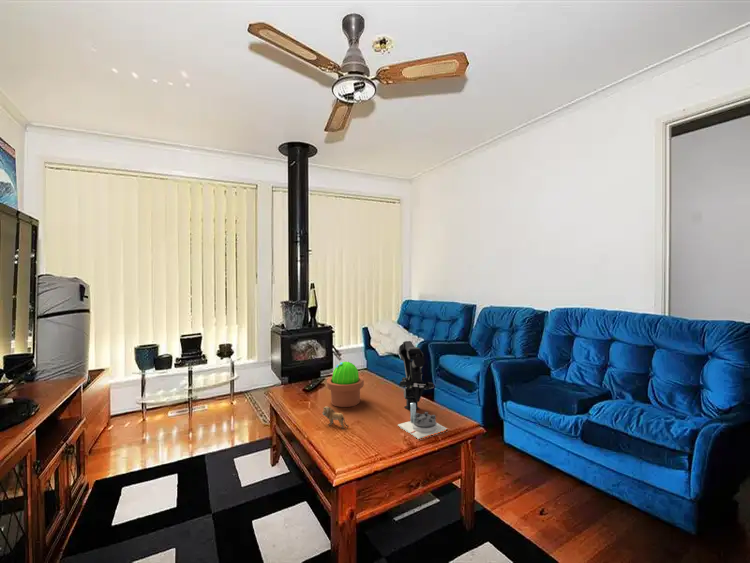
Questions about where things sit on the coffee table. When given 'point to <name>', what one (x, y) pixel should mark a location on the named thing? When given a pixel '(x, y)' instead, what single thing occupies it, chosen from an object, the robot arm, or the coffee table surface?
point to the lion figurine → (333, 416)
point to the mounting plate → (418, 434)
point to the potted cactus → (345, 385)
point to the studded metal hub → (421, 418)
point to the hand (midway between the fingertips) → (417, 401)
